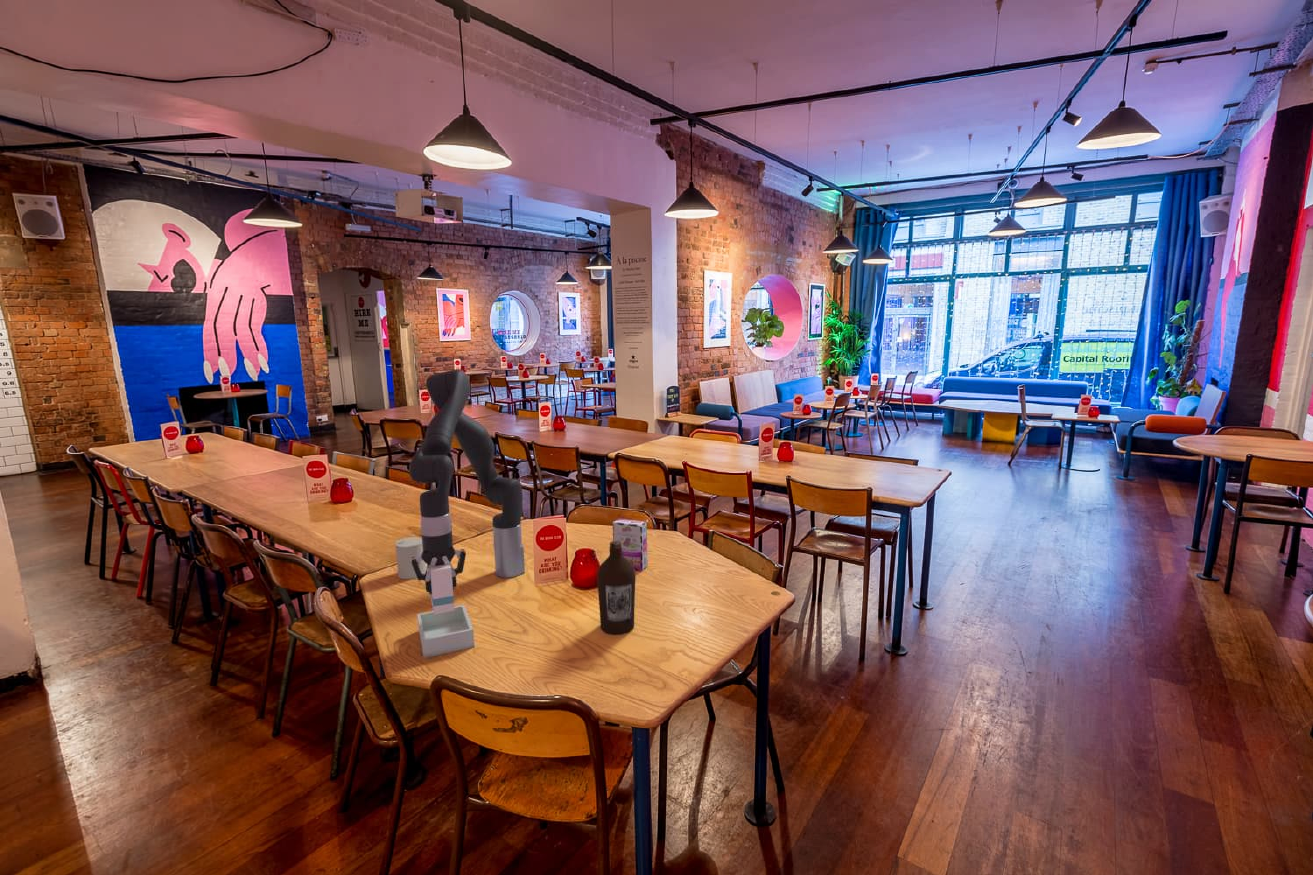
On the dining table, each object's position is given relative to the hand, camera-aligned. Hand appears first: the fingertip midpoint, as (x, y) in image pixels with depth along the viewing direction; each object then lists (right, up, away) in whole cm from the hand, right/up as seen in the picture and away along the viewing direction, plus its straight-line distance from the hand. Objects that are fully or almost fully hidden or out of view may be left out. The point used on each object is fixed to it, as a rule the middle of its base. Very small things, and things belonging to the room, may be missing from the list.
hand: (441, 590), depth 160 cm
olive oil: (+46, -13, +8) cm, 49 cm away
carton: (0, -4, +1) cm, 4 cm away
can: (-26, -6, +45) cm, 52 cm away
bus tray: (0, -14, +3) cm, 14 cm away
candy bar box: (+48, -4, +49) cm, 69 cm away
